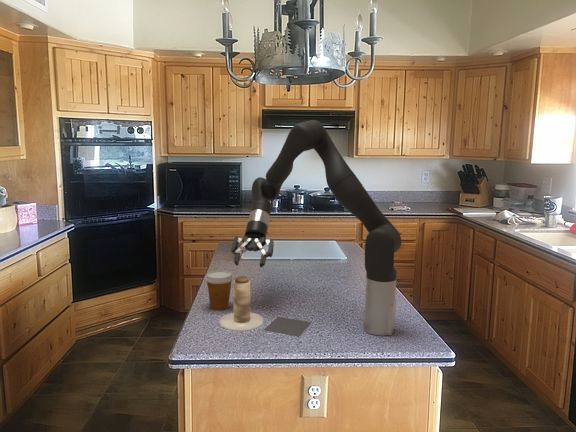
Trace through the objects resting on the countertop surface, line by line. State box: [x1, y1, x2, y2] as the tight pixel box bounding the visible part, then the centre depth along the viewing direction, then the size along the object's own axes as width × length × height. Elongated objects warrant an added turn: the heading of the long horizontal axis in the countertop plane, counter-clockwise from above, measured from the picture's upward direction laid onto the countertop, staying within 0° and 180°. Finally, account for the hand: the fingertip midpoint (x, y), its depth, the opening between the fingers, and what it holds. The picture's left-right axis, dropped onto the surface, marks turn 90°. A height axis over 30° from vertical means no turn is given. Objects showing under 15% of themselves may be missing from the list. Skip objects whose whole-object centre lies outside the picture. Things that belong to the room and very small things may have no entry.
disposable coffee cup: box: [205, 270, 234, 311], centre depth 165 cm, size 10×10×12 cm
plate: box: [219, 311, 264, 332], centre depth 152 cm, size 14×14×1 cm
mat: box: [263, 316, 313, 338], centre depth 150 cm, size 12×12×1 cm
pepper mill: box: [232, 275, 251, 323], centre depth 151 cm, size 5×5×14 cm
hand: (248, 265), depth 157 cm, fingers open, 8 cm apart
